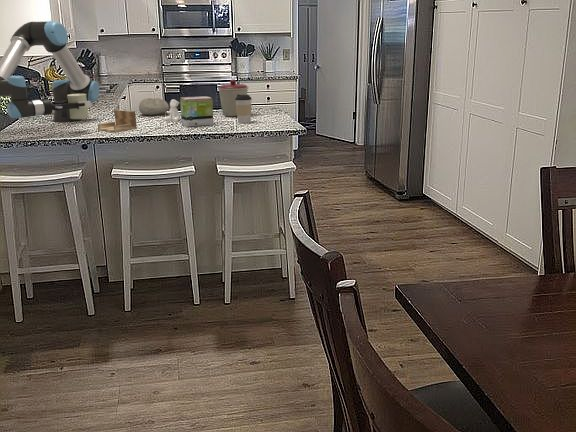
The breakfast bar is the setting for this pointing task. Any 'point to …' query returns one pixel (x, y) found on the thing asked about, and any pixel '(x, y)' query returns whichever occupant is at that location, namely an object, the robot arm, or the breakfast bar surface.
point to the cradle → (120, 122)
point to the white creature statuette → (173, 112)
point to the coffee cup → (243, 108)
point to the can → (80, 112)
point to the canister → (231, 97)
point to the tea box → (196, 111)
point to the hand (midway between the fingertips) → (86, 102)
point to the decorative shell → (153, 106)
